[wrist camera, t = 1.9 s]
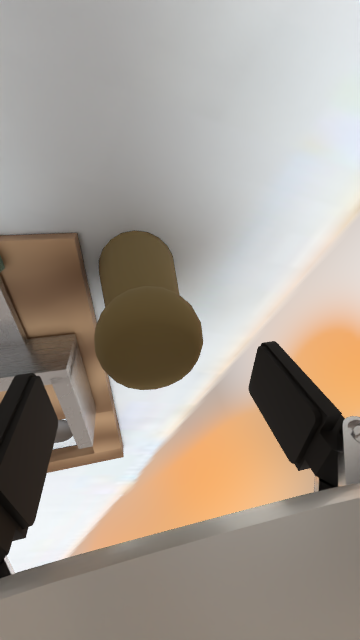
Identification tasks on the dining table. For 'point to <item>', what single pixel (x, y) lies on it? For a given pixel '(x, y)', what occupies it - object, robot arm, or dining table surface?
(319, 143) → the dining table surface
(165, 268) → the olive tapered rounded piece
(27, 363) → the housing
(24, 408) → the robot arm
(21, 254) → the board
